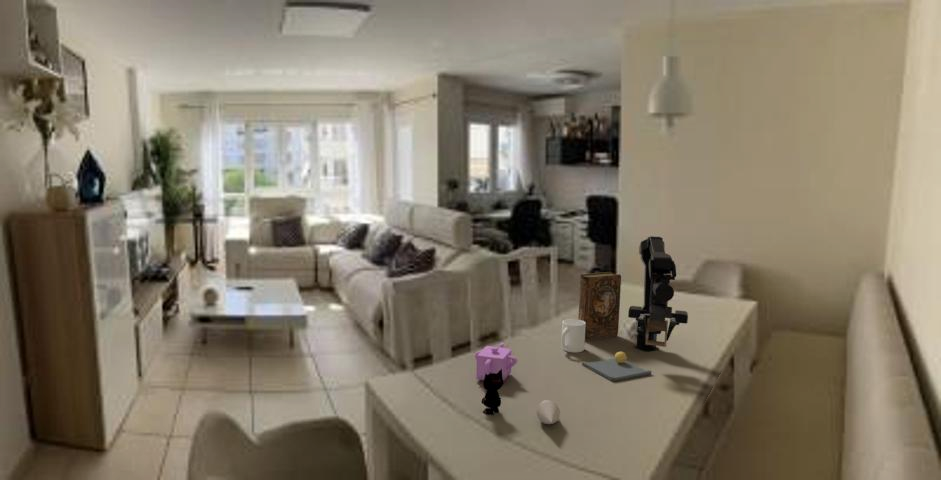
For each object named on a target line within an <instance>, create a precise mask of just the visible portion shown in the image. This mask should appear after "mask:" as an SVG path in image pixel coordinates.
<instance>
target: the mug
mask: <svg viewBox="0 0 941 480" xmlns="http://www.w3.org/2000/svg"><path fill="white" fill-rule="evenodd" d="M585 326H586V323H585V322H584V321H582V320H578V319H577V318H569V319H568V318H566V319H563V320H562V327H561V336H560V345H561V349H562V350H563V351H565V352H567V353H573V354H574V353H576V354H577V353H581V352H583V351H584V350H585V342H586V341H585Z"/></svg>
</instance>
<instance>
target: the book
mask: <svg viewBox="0 0 941 480" xmlns="http://www.w3.org/2000/svg"><path fill="white" fill-rule="evenodd" d="M579 277H580V278H579V280H580V281H579V300H578V301H579V302H578V320H582V321H584V322H585V323H586V326H585V342H588V341H590V342H591V341H595V340H596V341H597V340H601V339H602V340H604V339H609V338H614V337H617V336H618V335H619V328H620V326H619V324H620V303H621V287H622V275H621V274H615V273H613V271H605V272H604V271H603V272H593V273H582V274H580V276H579Z"/></svg>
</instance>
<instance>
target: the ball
mask: <svg viewBox="0 0 941 480" xmlns="http://www.w3.org/2000/svg"><path fill="white" fill-rule="evenodd" d="M614 358H615V360H616V362H618V363H624V362H625V361H627V354H626V353H625V352H624V351H618V352H616V353H615V355H614Z"/></svg>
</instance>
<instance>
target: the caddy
mask: <svg viewBox="0 0 941 480" xmlns="http://www.w3.org/2000/svg"><path fill="white" fill-rule="evenodd" d="M668 323H669V320H666V319H665V321H664V322H660V321H651V320H650V319H647V328H646V345H654V346H656V347H663V348H666V347H667V341H666V340H667V332H668V327H669V324H668ZM649 330H656V331H661V332H664V341H658V340H656V341H652V340H648V335H649Z"/></svg>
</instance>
